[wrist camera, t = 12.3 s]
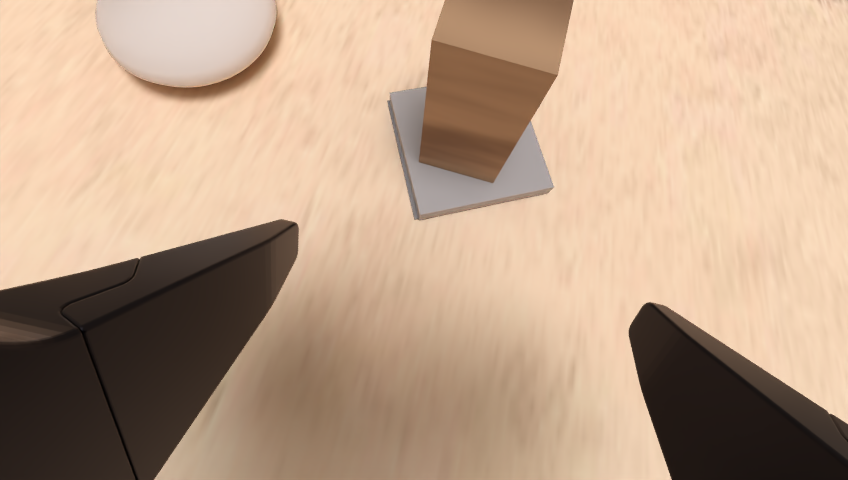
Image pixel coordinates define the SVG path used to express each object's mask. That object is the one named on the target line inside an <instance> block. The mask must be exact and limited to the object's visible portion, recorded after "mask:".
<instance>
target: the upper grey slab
mask: <svg viewBox="0 0 848 480" xmlns="http://www.w3.org/2000/svg"><path fill="white" fill-rule="evenodd" d="M426 89H427V87H422V88H416V89H410V90H404V91H398V92H392V93H390V104H391V108H392V112H393V116H394V120H395V124H396V128H397V132H398V136H399V140H400V144H401V148H402V152H403V156H404V160H405V164H406V168H407V172H408V176H409V180H410V184H411V188H412V192H413V196H414V200H415V204H416V208H417V212H418V216H419V220H422V219H426V218H431V217H436V216H441V215H445V214H450V213H455V212H460V211H465V210H469V209H474V208H479V207H484V206H488V205H493V204H498V203H503V202H507V201H512V200H517V199H522V198H526V197H531V196H536V195H541V194H546V193H549V192H550V191H551V190H552V189H553V188H554V186H553V183H552V180H551V177H550V174H549V171H548V169H547V166H546V163H545V160H544V157H543V154H542V152H541V149H540V146H539V143H538V140H537V137H536V135H535V132H534V129H533V126H532V123H531V121H530V122H529V124H528V126H527V127H526V129H525V131H524V132H523V134H522V136H521V137H520V139H519V141H518V142H517V144H516V146H515V147H514V149H513V151H512V152H511V154H510V156H509V157H508V159H507V161H506V162H505V164H504V166H503V167H502V169H501V171H500V173H499V174H498V176H497V178H496V179H495V181H494V183H490V182H487V181H483V180H479V179H476V178H472V177H469V176H465V175H462V174H458V173H455V172H451V171H448V170H444V169H441V168H437V167H434V166H430V165H427V164H423V163H420V162H419V155H420V146H421V137H422V127H423V118H424V108H425V99H426Z"/></svg>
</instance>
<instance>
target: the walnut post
mask: <svg viewBox="0 0 848 480" xmlns="http://www.w3.org/2000/svg"><path fill="white" fill-rule="evenodd" d="M572 5H573V0H445V2H444V5H443V8H442V11H441V14H440V17H439V20H438V23H437V26H436V29H435V32H434V35H433V38H432V42H431V51H430V61H429V70H428V80H427V89H426V99H425V108H424V118H423V127H422V137H421V146H420V155H419V162H420V163H423V164H427V165H430V166H434V167H437V168H441V169H444V170H448V171H451V172H455V173H458V174H462V175H465V176H469V177H472V178H476V179H479V180H483V181H487V182H490V183H494V181H495V179H496V178H497V176H498V174H499V173H500V171H501V169H502V167H503V166H504V164H505V162H506V161H507V159H508V157H509V156H510V154H511V152H512V151H513V149H514V147H515V146H516V144H517V142H518V141H519V139H520V137H521V136H522V134H523V132H524V131H525V129H526V127H527V126H528V124H529V122H530V121H531V119H532V117H533V116H534V114H535V112H536V111H537V109H538V107H539V106H540V104H541V102H542V100H543V99H544V97H545V95H546V94H547V92H548V90H549V89H550V87H551V85H552V84H553V82H554V80H555V79H556V77H557V75H558V71H559V66H560V62H561V57H562V52H563V47H564V43H565V38H566V33H567V29H568V24H569V19H570V14H571V10H572Z"/></svg>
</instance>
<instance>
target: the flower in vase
mask: <svg viewBox="0 0 848 480" xmlns="http://www.w3.org/2000/svg"><path fill="white" fill-rule="evenodd" d="M276 15H277V12H276V2H275V0H97V6H96V23H97V28H98V31H99V33H100V36H101V38H102V40H103V43H104V45H105V47H106V49H107V51H108V52H109V54H110V55H111V57H112V58H113V59H114V60H115V61H116V62H117V64H119V65H120V66H121V67H122V68H123V69H125V70H126V71H128V72H129V73H131V74H132V75H134V76H136V77H138V78H141V79H143V80H145V81H149V82H152V83H156V84H161V85H167V86H173V87H186V88H187V87H200V86H206V85H211V84H214V83H218V82H221V81H223V80H226V79H228V78H231V77H233V76H234V75H236V74H238V73H240V72H241V71H243V70H244V69H246V68H247V67H248V66H249V65H251V64H252V63H253V62H254V61H255V60H256V59H257V58H258V57H259V56H260V55H261V53H262V52H263V50H264V49H265V48H266V46H267V44H268V42H269V40H270V38H271V35H272V32H273V29H274V26H275V22H276Z"/></svg>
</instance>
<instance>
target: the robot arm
mask: <svg viewBox="0 0 848 480" xmlns="http://www.w3.org/2000/svg"><path fill="white" fill-rule="evenodd" d="M298 233H299V228H298V225H297V223H295V222H292V221H287V220H282V219H281V220H277V221H273V222H269V223H266V224H262V225H258V226H254V227H251V228H247V229H243V230H240V231H236V232H232V233H228V234H225V235H221V236H217V237H214V238H210V239H206V240H202V241H199V242H195V243H191V244H188V245H184V246H180V247H176V248H173V249H169V250H165V251H162V252H158V253H154V254H150V255H147V256H143V257H141V258H140V259H138V258H135V259H131V260H128V261H124V262H120V263H117V264H113V265H109V266H105V267H101V268H97V269H93V270H89V271H85V272H81V273H76V274H72V275H68V276H63V277H59V278H54V279H50V280H46V281H41V282H36V283H32V284H27V285H23V286H18V287H13V288H9V289H4V290H0V480H154V479H155V477H156V476H157V474H158V473H159V471H160V470H161V468H162V467H163V465H164V464H165V463H166V461H167V460H168V458H169V457H170V455H171V454H172V452H173V451H174V449H175V448H176V446H177V445H178V443H179V442H180V441H181V439H182V438H183V436H184V435H185V433H186V432H187V430H188V429H189V427H190V426H191V424H192V423H193V421H194V420H195V418H196V417H197V416H198V414H199V413H200V411H201V410H202V408H203V407H204V405H205V404H206V402H207V401H208V399H209V398H210V396H211V395H212V393H213V392H214V391H215V389H216V388H217V386H218V385H219V383H220V382H221V380H222V379H223V377H224V376H225V374H226V373H227V371H228V370H229V368H230V367H231V366H232V364H233V363H234V361H235V360H236V358H237V357H238V355H239V354H240V352H241V351H242V349H243V348H244V346H245V345H246V344H247V342H248V341H249V339H250V338H251V336H252V335H253V333H254V332H255V330H256V329H257V327H258V326H259V324H260V323H261V321H262V320H263V319H264V317H265V316H266V314H267V313H268V311H269V309H270V308H271V306H272V305H273V303H274V301H275V299H276V297H277V295H278V293H279V291H280V289H281V287H282V285H283V284H284V282H285V280H286V278H287V276H288V274H289V272H290V270H291V268H292V266H293V264H294V262H295V260H296V258H297V254H298ZM629 338H630V343H631V347H632V352H633V356H634V361H635V365H636V369H637V374H638V378H639V382H640V386H641V390H642V393H643V396H644V400H645V403H646V406H647V408H648V411H649V414H650V417H651V420H652V423H653V426H654V429H655V432H656V435H657V438H658V441H659V444H660V447H661V450H662V453H663V456H664V458H665V461H666V464H667V467H668V470H669V473H670V476H671V479H672V480H848V424H847V423H845V422H843V421H842V420H840V419H839V418H837V417H836V416H834V415H832V414H829V413H828V412H827V411H826V410H825V409H823V408H822V407H820V406H819V405H817V404H816V403H814V402H813V401H811V400H809V399H808V398H806V397H805V396H803V395H802V394H800V393H799V392H797V391H796V390H794V389H793V388H791V387H789V386H788V385H786V384H785V383H783V382H782V381H780V380H779V379H777V378H776V377H774V376H773V375H771V374H769V373H768V372H766V371H765V370H763V369H762V368H760V367H759V366H757V365H756V364H754V363H753V362H751V361H749V360H748V359H746V358H745V357H743V356H742V355H740V354H739V353H737V352H736V351H734V350H733V349H731V348H729V347H728V346H726V345H725V344H723V343H722V342H720V341H719V340H717V339H716V338H714V337H713V336H711V335H709V334H708V333H706V332H705V331H703V330H702V329H700V328H699V327H697V326H696V325H694V324H692V323H691V322H689V321H688V320H686V319H685V318H683V317H682V316H680V315H679V314H677V313H676V312H674V311H672V310H671V309H669V308H668V307H666V306H664V305H660V304H656V303H651V302H648V303H646V304H644V305H643V306H642V308H641V309H640V311H639V313H638V314H637V316H636V317H635V319H634V320H633V322H632V323H631V325H630V328H629Z"/></svg>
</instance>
